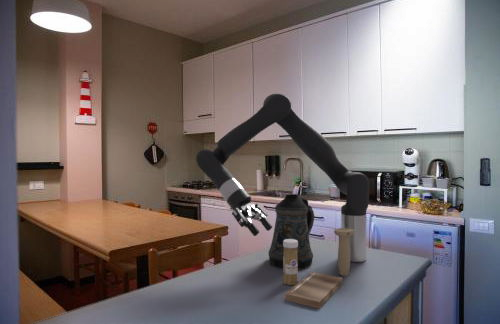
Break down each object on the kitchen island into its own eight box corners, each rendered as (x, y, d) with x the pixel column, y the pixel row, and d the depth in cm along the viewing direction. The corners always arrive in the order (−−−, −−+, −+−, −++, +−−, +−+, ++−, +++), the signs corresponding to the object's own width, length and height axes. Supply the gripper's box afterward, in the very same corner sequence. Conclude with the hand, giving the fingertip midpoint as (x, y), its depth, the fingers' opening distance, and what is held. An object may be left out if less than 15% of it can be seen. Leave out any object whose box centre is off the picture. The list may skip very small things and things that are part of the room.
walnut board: (312, 277, 110) (312, 271, 110) (342, 283, 104) (342, 277, 104) (285, 299, 93) (285, 293, 93) (319, 308, 88) (319, 301, 88)
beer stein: (262, 266, 121) (261, 197, 121) (278, 251, 139) (278, 191, 138) (307, 272, 115) (307, 199, 114) (318, 256, 133) (318, 193, 132)
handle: (356, 275, 111) (356, 230, 111) (339, 278, 109) (339, 232, 109) (347, 271, 116) (348, 227, 115) (331, 273, 114) (331, 229, 113)
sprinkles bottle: (290, 287, 102) (290, 242, 102) (280, 282, 106) (280, 239, 105) (301, 283, 105) (300, 240, 104) (290, 279, 108) (290, 237, 108)
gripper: (228, 189, 108) (259, 228, 103) (252, 185, 120) (281, 220, 115) (216, 204, 111) (245, 243, 105) (240, 199, 123) (267, 234, 117)
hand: (263, 231), depth 110 cm, fingers open, 8 cm apart
